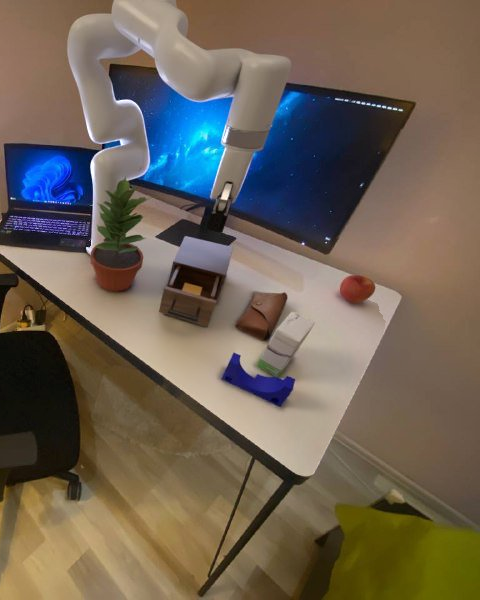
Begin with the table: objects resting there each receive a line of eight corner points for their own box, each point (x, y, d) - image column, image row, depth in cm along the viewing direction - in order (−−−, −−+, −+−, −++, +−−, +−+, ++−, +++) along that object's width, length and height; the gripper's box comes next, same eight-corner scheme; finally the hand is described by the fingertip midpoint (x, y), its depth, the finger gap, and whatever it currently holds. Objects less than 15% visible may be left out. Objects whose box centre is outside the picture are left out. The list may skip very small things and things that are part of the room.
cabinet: (215, 303, 94) (226, 275, 87) (166, 289, 98) (173, 261, 92) (223, 274, 104) (233, 247, 97) (178, 262, 108) (185, 235, 102)
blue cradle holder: (284, 391, 73) (296, 373, 69) (280, 407, 70) (292, 389, 66) (227, 365, 78) (235, 347, 74) (221, 379, 75) (229, 361, 71)
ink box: (277, 378, 75) (300, 342, 68) (255, 365, 78) (275, 329, 70) (292, 357, 80) (316, 321, 72) (271, 346, 82) (292, 309, 75)
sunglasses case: (253, 289, 97) (273, 278, 92) (270, 307, 97) (292, 297, 92) (233, 326, 86) (255, 315, 81) (252, 347, 86) (276, 337, 81)
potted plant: (109, 259, 109) (118, 162, 89) (149, 280, 101) (168, 179, 81) (76, 279, 101) (77, 178, 81) (116, 304, 93) (128, 198, 73)
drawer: (203, 340, 82) (212, 316, 77) (153, 323, 86) (158, 300, 81) (215, 295, 95) (224, 272, 90) (171, 282, 99) (176, 260, 94)
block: (181, 295, 93) (185, 282, 90) (198, 300, 91) (202, 287, 89) (177, 305, 90) (181, 292, 87) (194, 310, 88) (199, 297, 85)
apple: (368, 300, 96) (385, 277, 90) (359, 312, 92) (376, 288, 87) (339, 287, 100) (354, 264, 95) (329, 298, 96) (344, 275, 91)
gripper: (229, 122, 71) (207, 201, 82) (216, 147, 59) (192, 234, 70) (268, 127, 69) (240, 207, 80) (263, 154, 57) (230, 243, 68)
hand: (218, 220), depth 75 cm, fingers open, 9 cm apart
